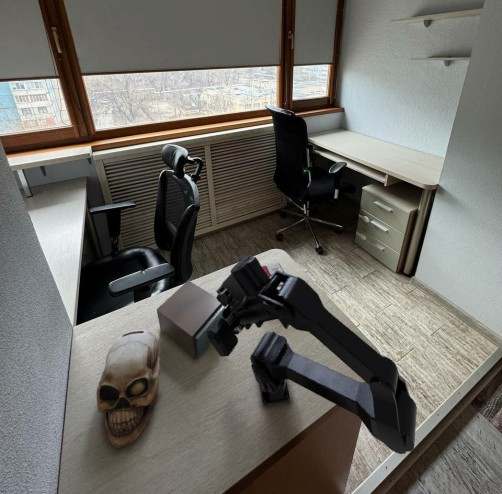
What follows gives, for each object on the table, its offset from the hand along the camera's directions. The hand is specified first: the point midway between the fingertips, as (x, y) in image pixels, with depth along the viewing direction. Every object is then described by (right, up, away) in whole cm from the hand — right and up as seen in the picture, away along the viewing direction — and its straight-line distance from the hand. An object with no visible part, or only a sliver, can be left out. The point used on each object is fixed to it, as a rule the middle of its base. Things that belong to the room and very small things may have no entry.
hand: (223, 315), depth 67 cm
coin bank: (-21, -16, -3) cm, 27 cm away
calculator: (+14, -5, +24) cm, 28 cm away
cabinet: (-10, -10, +11) cm, 18 cm away
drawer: (-8, -10, +10) cm, 16 cm away
